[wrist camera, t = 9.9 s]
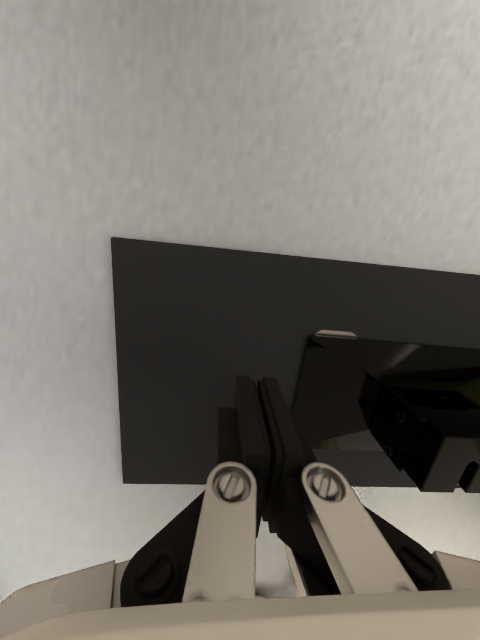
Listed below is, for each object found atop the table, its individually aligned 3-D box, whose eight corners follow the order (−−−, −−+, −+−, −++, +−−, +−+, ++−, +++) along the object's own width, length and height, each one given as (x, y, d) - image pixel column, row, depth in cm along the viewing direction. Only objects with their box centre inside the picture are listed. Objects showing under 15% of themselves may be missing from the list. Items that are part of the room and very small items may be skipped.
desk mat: (113, 237, 11) (110, 237, 11) (587, 286, 14) (595, 287, 13) (124, 479, 16) (122, 483, 16) (482, 484, 18) (486, 488, 18)
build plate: (283, 441, 16) (307, 525, 11) (307, 326, 13) (349, 374, 9) (473, 451, 17) (562, 530, 12) (526, 346, 14) (659, 398, 10)
